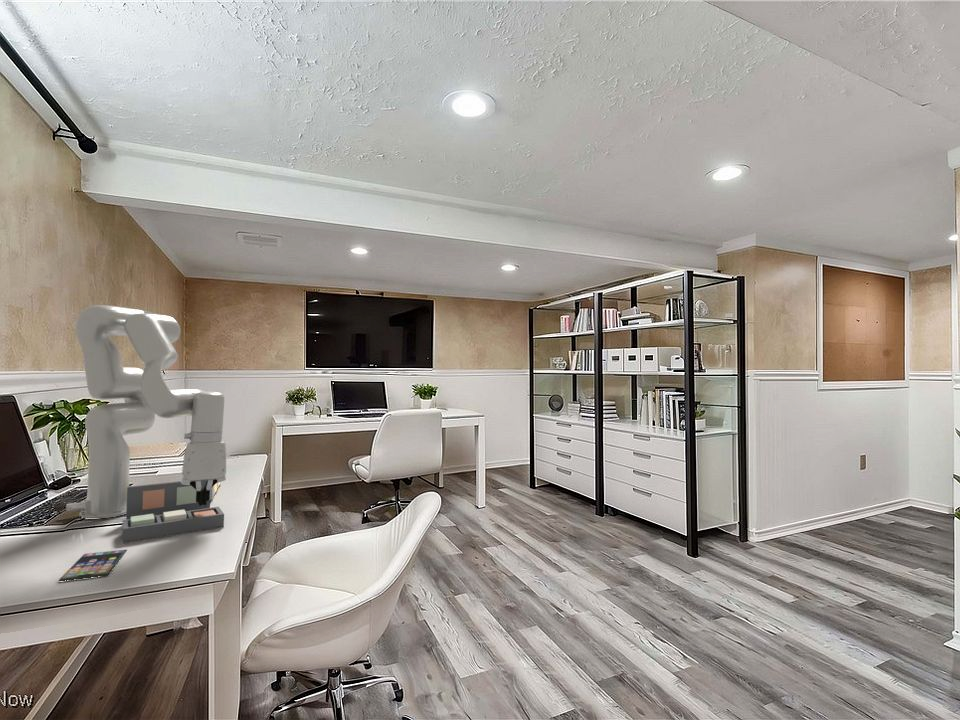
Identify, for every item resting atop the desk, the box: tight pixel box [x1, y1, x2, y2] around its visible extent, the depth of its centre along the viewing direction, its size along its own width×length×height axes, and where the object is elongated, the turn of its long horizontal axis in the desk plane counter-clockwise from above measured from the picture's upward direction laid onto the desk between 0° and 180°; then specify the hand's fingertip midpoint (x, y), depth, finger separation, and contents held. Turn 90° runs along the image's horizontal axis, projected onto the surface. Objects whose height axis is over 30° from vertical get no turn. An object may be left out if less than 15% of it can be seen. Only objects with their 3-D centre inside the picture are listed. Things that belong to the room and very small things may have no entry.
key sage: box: [130, 514, 155, 527], centre depth 123 cm, size 5×5×2 cm
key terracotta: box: [193, 510, 216, 518], centre depth 132 cm, size 5×5×2 cm
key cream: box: [163, 510, 187, 522], centre depth 128 cm, size 5×5×2 cm
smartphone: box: [58, 549, 128, 582], centre depth 105 cm, size 8×15×1 cm, turn 24°
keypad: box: [121, 480, 225, 544], centre depth 132 cm, size 22×19×10 cm
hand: (202, 503), depth 132 cm, fingers closed
